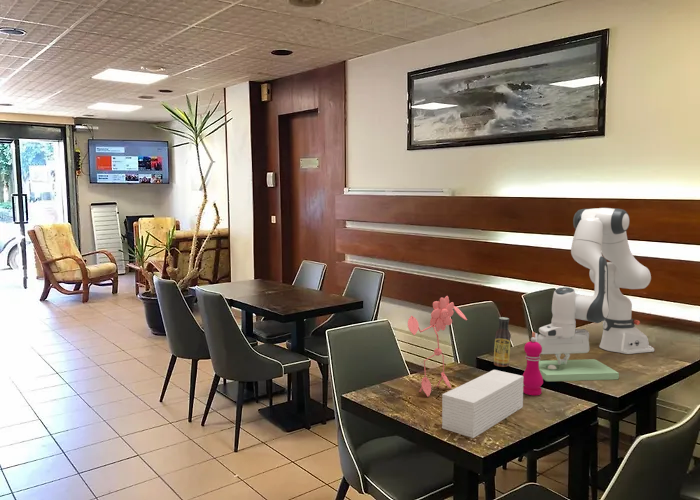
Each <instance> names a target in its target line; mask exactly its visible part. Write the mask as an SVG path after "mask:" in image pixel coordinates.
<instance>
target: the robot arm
mask: <svg viewBox="0 0 700 500" xmlns="http://www.w3.org/2000/svg"><path fill="white" fill-rule="evenodd" d="M572 224H573V228H574V230H575V231H574V234H573V239H572V243H571V248H570V254H571V257H572V258H573V260H574V262H577V263H578V264H579V265H581V266H583V267H584V268H586V269H589V273H588V274H589V278H590V281H591V282H592V283H593V284H594V294H593V295H585V294H577V293H576V290H575V289H574V288H572V287H566V286H563V287H558V288H556V289H555V290H554V291H553V294H552V302H551V303H552V304H551V313H552V318H551V323H549V324H546V325H543V326H541V327H539V328H538V332H539V334H537V342H538V343H539V344H540V345H541V346H542V352H541V354H540V355H554V356H555V357H556V360H558V364H559V365H566V364H567V360H569V359H570V357H571V354H587V353H589V351H590V340H589V339H590V332H589V331H588V330H587V329H585V328H581V329H580V328H576V324H577V323H576V320H582V321H587V322H590V323H595V324H600V323H602V329H603V331H602V336H601V341H600V343H599V348H600V349H602V350H605V351H608V352H612V353H613V352H614V353H621V354H626V355H632V354H643V353H651V352H655V348H654V347H652V346H651V345H650V343H649V338H648V336H647V335H646V334H645V333H644V332H642V331H641V330H640V329H639V328H638V327H636V326H635V325H637V326H639V325H640V324H641V321H640V320H638V319H633V318H632V311H633V308H632V307H633V304H632V301H631V299H630V298H629V297H628V296H625V295H624V294H623V293H622V291H621V290H620V288H621V289H629V290H642V289H646V288H647V287H648V286H649V285H650V283H651V280H652V276H651V275H652V274H651V272H650V269H649V268H648V267H647V266H644V265H643V264H642V263H640V262H639V261H638V260H637V259H636V258H635V256H634V255H633V253H632V252H631V249H630V245H629V241H628V235H627V231H628V229H629V226H630V215H629V213H628V212H627V211H626V210H625V209H622V208H611V207H599V208H595V207H594V208H582V209H578V210H577V211H576V212H575V213H574V215H573V218H572ZM561 355H564V356H563V358H561Z"/></svg>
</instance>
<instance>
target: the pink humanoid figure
mask: <svg viewBox="0 0 700 500" xmlns="http://www.w3.org/2000/svg"><path fill="white" fill-rule="evenodd" d="M432 308H433V310H432V311H431V313H430V317H431V318H430V321H429V325H430V326H428V327H426V328H423V329H422V330H421V328H420V327H419V326H420V325H419V321H418V320H417V318H416V317H414V316H413V315H410V317H409V318H408V321H407V328H408V330H409V331H410V333H411V334H412V335H413V336H415V335H416V334H417V332H420V333H421V334H422V333H423V332H425V331H427V330H428V329H430V328H433V330H434V333H435V335H436V341H437V342H436V343H437V347H436V348H435V349H434V350H433V354H432V355H430V356H429V357H428V358H426V359H424V360H423V369H424V371H423V372H424V376H423V377H422V378H421V386H420V389H419V391H418V392H419V393H421V392H422V390H423V392H424V394H425V395H426V396H427V398H429V397H430V394H431V392H432V383H431V382H430V380H429V378H428V377H427V373H426V372H427V371H426V361H427V360H429V359H431V358H433V357H435V356H440V355H442V371H441V372H440V374H441V376H440V379H439V381H438V382H437V384H436V387H437V388H439V385H440V384H441V381H442V380H443V382H444V383H445V384H446V386H447V387H448V388H449V389H450V390H452V386H451V383H450V381H449V380H450V379H448V377H447V375H446V374H445V361H444V359H445V356H444V354H443V352H442V349H441V348H440V339H439V335H438V333H437V332H440V331H445V330H446V328H447V326H451V325H452V323H453V319H452V318H451V317H452V316H453V315H454V313H455V312H456V314H457V315H458V316H459V317H460V318H462V319H463V320H465V321H468V319H467V317H466V315H465V314H464V313H463V312H462V311H461V310H460V309H459V307H457V306H455V304H454V302H453V301H452V302H450V299H449V296H448V295H446V296H445V297H440V298H439V300H438V301H437V300H436V301H433V302H432ZM406 395H407V396H409V394H407V393H406Z"/></svg>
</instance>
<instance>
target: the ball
mask: <svg viewBox="0 0 700 500" xmlns="http://www.w3.org/2000/svg"><path fill="white" fill-rule="evenodd" d="M548 369H557V368H556V366H554V365H549V366H548Z"/></svg>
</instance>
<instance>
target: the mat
mask: <svg viewBox="0 0 700 500" xmlns="http://www.w3.org/2000/svg"><path fill="white" fill-rule="evenodd" d="M532 337H534V338H536V341H535V342H537V337H538V332H537V333H536V332H534V331H531V338H532ZM549 365H554V366H556V368H557V369H548V366H549ZM539 370H540V373H541V375H542V378H543V381H545V382H570V381H571V382H573V381H579V382H580V381H605V380H607V381H608V380H611V381H612V380H619V377H620V373H619V372H618V371H616V370H615V369H613V368H612V367H609V366H608V365H606V364H605V363H603V362H601V361H599V360H597V359H596V358H591V359H589V358H585V359H568V360H567V364H566V365H559V364H558V359H553V360H552V359H550V360H539Z"/></svg>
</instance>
